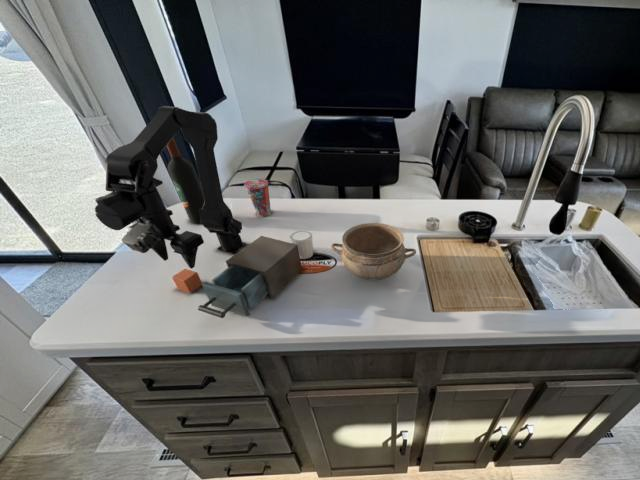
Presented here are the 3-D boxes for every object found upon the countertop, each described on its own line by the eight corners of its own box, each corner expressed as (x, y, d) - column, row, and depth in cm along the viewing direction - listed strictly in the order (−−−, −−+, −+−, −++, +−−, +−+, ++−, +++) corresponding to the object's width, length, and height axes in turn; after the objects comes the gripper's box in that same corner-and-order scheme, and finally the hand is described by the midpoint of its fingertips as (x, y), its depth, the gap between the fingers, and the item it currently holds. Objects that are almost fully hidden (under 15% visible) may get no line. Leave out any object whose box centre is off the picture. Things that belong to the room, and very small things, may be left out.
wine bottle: (207, 224, 119) (171, 135, 99) (186, 223, 119) (146, 135, 99) (216, 215, 124) (184, 129, 105) (196, 214, 124) (160, 128, 104)
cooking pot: (326, 288, 94) (321, 252, 85) (340, 252, 108) (337, 219, 100) (413, 294, 93) (415, 259, 85) (415, 257, 107) (418, 224, 99)
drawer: (233, 330, 79) (223, 308, 74) (196, 317, 82) (185, 295, 77) (279, 286, 92) (273, 265, 87) (246, 277, 95) (239, 256, 90)
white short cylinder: (310, 261, 103) (306, 242, 99) (290, 258, 104) (285, 239, 100) (318, 250, 108) (315, 231, 104) (299, 247, 109) (295, 228, 105)
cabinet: (272, 298, 89) (264, 272, 83) (235, 287, 92) (225, 261, 86) (302, 270, 100) (297, 244, 94) (268, 260, 103) (261, 235, 97)
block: (178, 289, 91) (171, 277, 88) (191, 280, 94) (184, 268, 91) (190, 293, 90) (184, 281, 87) (202, 284, 93) (197, 272, 90)
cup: (251, 210, 128) (243, 180, 120) (274, 207, 131) (266, 177, 123) (253, 221, 122) (244, 190, 114) (277, 217, 125) (269, 186, 117)
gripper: (88, 216, 73) (125, 272, 83) (150, 233, 68) (181, 290, 79) (134, 197, 81) (163, 250, 91) (192, 211, 76) (215, 265, 87)
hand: (179, 263), depth 87 cm, fingers open, 9 cm apart
